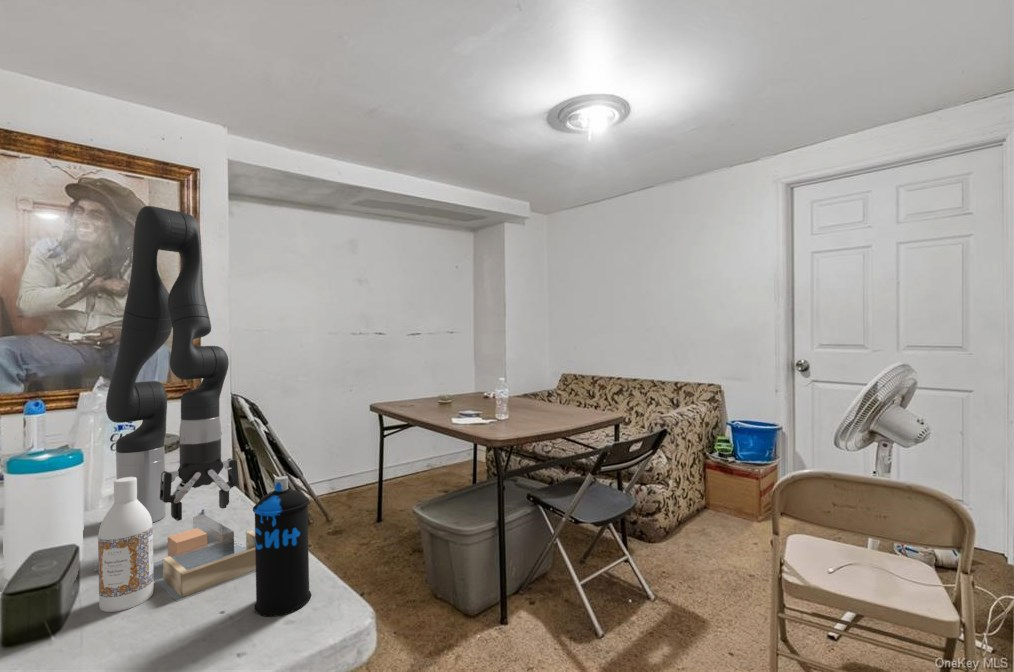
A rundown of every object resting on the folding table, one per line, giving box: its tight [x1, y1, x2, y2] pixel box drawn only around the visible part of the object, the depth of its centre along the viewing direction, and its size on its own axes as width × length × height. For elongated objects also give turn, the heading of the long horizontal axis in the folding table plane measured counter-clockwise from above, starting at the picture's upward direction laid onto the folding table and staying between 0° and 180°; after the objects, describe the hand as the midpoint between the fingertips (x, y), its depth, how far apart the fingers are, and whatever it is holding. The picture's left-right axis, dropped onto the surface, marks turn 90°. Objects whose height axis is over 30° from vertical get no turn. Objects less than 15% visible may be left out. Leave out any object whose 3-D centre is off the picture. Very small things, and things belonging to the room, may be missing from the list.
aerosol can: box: [252, 475, 312, 617], centre depth 76 cm, size 8×8×20 cm
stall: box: [162, 530, 256, 598], centre depth 86 cm, size 10×15×4 cm, turn 141°
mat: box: [153, 541, 256, 603], centre depth 89 cm, size 20×17×1 cm
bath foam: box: [97, 477, 155, 613], centre depth 77 cm, size 7×7×20 cm
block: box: [167, 528, 207, 558], centre depth 91 cm, size 5×5×5 cm
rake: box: [172, 513, 235, 570], centre depth 94 cm, size 16×10×4 cm, turn 51°
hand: (201, 513), depth 102 cm, fingers open, 8 cm apart
